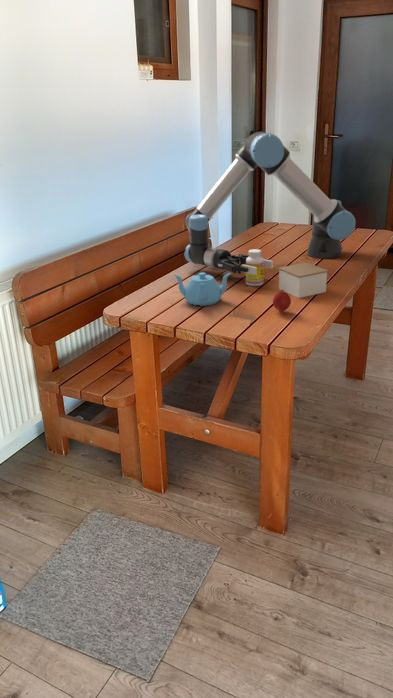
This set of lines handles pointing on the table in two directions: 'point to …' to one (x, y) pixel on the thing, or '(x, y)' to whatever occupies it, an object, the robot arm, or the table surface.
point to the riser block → (302, 279)
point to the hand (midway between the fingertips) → (264, 267)
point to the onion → (281, 301)
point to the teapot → (202, 289)
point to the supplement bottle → (257, 262)
